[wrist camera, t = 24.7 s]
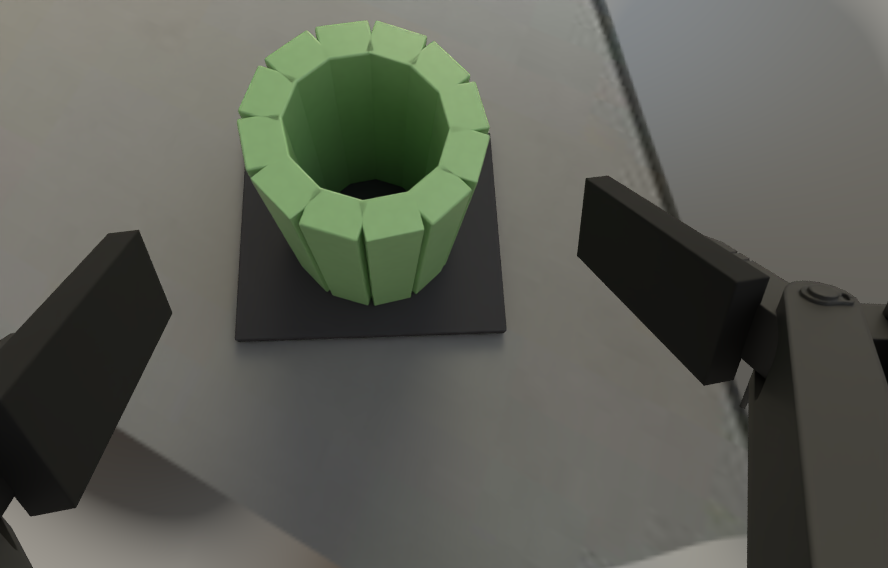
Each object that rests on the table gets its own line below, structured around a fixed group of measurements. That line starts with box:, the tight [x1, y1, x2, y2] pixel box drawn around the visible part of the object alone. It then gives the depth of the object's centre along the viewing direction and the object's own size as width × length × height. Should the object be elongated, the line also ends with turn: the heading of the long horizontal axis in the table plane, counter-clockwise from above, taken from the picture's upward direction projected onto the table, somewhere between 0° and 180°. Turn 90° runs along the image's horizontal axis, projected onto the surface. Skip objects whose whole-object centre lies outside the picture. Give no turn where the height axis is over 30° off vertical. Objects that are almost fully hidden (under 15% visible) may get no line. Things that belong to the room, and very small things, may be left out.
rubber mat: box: [235, 133, 506, 342], centre depth 27 cm, size 14×12×1 cm
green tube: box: [237, 20, 490, 306], centre depth 22 cm, size 9×9×10 cm
